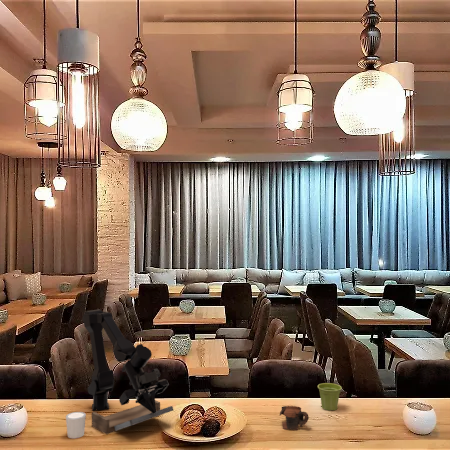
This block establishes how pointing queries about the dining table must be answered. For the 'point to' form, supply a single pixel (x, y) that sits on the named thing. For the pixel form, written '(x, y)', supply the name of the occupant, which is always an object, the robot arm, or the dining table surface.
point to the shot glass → (75, 424)
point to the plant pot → (329, 395)
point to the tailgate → (143, 418)
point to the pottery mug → (293, 417)
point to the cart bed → (119, 418)
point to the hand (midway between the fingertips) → (154, 412)
